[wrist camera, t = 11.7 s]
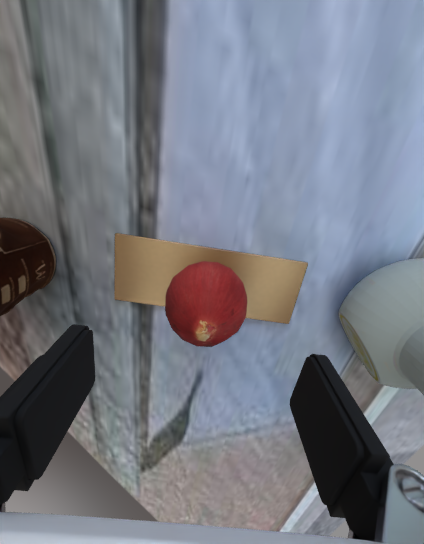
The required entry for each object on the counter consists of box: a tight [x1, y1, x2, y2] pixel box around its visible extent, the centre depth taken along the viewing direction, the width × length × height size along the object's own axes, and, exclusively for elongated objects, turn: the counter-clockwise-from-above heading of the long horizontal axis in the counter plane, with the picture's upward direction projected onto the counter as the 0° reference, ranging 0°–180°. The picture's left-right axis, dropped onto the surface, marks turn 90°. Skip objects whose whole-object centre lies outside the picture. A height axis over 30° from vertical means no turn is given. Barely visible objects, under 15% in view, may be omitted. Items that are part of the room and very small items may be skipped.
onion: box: [165, 261, 247, 347], centre depth 16 cm, size 6×6×8 cm
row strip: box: [115, 233, 308, 324], centre depth 20 cm, size 16×6×1 cm, turn 81°
